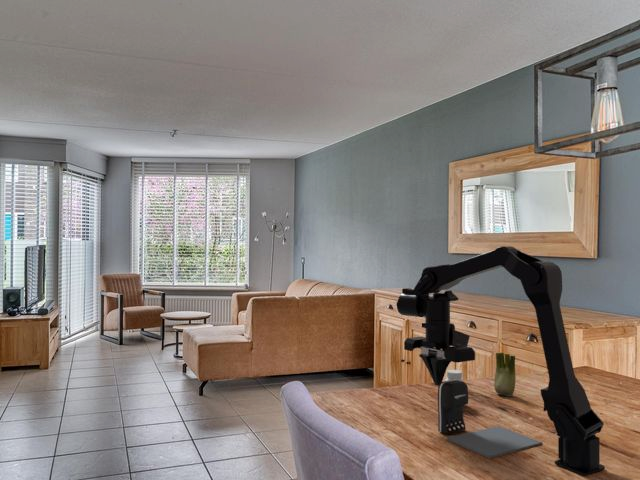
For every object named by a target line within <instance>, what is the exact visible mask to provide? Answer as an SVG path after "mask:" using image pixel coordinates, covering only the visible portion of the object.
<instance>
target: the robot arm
mask: <svg viewBox="0 0 640 480" xmlns="http://www.w3.org/2000/svg"><path fill="white" fill-rule="evenodd" d="M499 268H504V269H505V270H506V271H507V272H508V273H509V274H510V275H511V276H513V277H514V278H517V279H518V280H520V283H521V285H522V289H523V290H524V294H525V295H526V297H527V298H528V299H529V301H530V302H531V304H532V306H533V307H534V310H535V311H534V312H535V315H536V320H537V325H538V330H539V331H538V332H539V336H540V341H541V344H542V348H543V354H544V359H545V364H546V369H547V374H548V385H547V387H544V388H541V389H540V396H541V399H542V401H543V402H542V403H543V412H546V414H547V416H548V418H549V420H550V421H551V422H553V425H554V429H555V431H556V434H557V436H558V437H557V438H558V441H557V443H558V444H557V448H558V451H557V452H558V453H557V456H558V459H557V460H554V464H555V465H557V466H560V467H562V468H564V469H567V470H569V471H572V472H574V473H577V474H579V475H581V476H588V475H591V474H594V473H597V472H600V471H602V470H605V465H603V464H602V463H600V460H601V459H600V456H601V455H600V451H601V449H600V445H601V444H600V437H599V436H597V434H599V433H601V431H602V430H603V427H604V423H605V422H604V421H603V420H602V419H601V418H600V416H598V415H597V413H596V412H595V411H594V409H592V407H591V404H590V401H589V399H588V396H587V393H586V391H585V388H584V387H583V385H582V384H581V383H580V381H579V379H578V378H577V377H576V375H575V370H574V366H573V361H572V357H571V352H570V347H569V343H568V337H567V333H566V329H565V325H564V318H563V314H562V311H561V303H560V302H561V298H562V294H563V293H562V292H563V273H562V270H561V268H560V266H559V265H557V264H556V263H554V262H553V261H550V260H549V261H548V260H546V261H544V260H542V259H539V258H538V257H535V256H533V255H530V254H528V253H525V252H523V251H521V250H520V249H517V248H516V247H514V246H504V245H502V246H498V247H496V248H495V249H492V250H490V251H487V252H484V253H482V254H481V253H480V254H479V255H475V256H473V257H469V258H467V259H463V260H461V261H458V262H454V263H451V264H439V265H431V266H426V267H424V268H423V270H422V273H421V277H420V278H419V280H418V281H417V283H416V284H415V287H414V288H410V287H409V288H408V287H407V288H405V287H404V288H402V290H401V292H402V293H401V294H400V295H399V296H398V299H397V301H396V309H397V312H398V313H399V315H401V316H406V317H407V316H408V317H415V318H418V317H419V318H423V317H424V318H425V319H424V321H425V322H421V328H423V329H425V337H424V336H414V337H406V339H405V340H404V342H403V347H404V348H403V349H404V350H405V351H408V352H409V351H410V352H413V351H414V350H415V349H420V350H421V353H420V354H419V357H420V358H421V359H422V362H423V363H424V365H425V367H426V368H427V371H428V372H429V374H430V376H431V379H432V381H433V383H434V385H435V386H438V387H439V384H440V383H441V382H444V381H443V380H444V377H445V374H446V373H447V369H448V367H449V365H450V363H451V362H453V363H464V362H471V361H475V360H476V351H475V349H474V348H473V347H471V346H468V345H469V341H470V337H471V336H470V335H469V334H467V333H464V332H461V331H459V330H456V325H455V324H454V323H451V302H456V301H459V297H458V296H457V295H455V294H454V292H453V291H452V290H449V289H451V288H453V287H455V286H457V285H459V284H460V283H461V282H462V281H463V280H464V281H465V280H466V279H467V278H471V277H474V276H478V275H480V274H481V275H482V274H484V273H486V272H490V271H494V270H496V269H499ZM441 291H444V292H443V293H441ZM430 294H431V295H430Z"/></svg>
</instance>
